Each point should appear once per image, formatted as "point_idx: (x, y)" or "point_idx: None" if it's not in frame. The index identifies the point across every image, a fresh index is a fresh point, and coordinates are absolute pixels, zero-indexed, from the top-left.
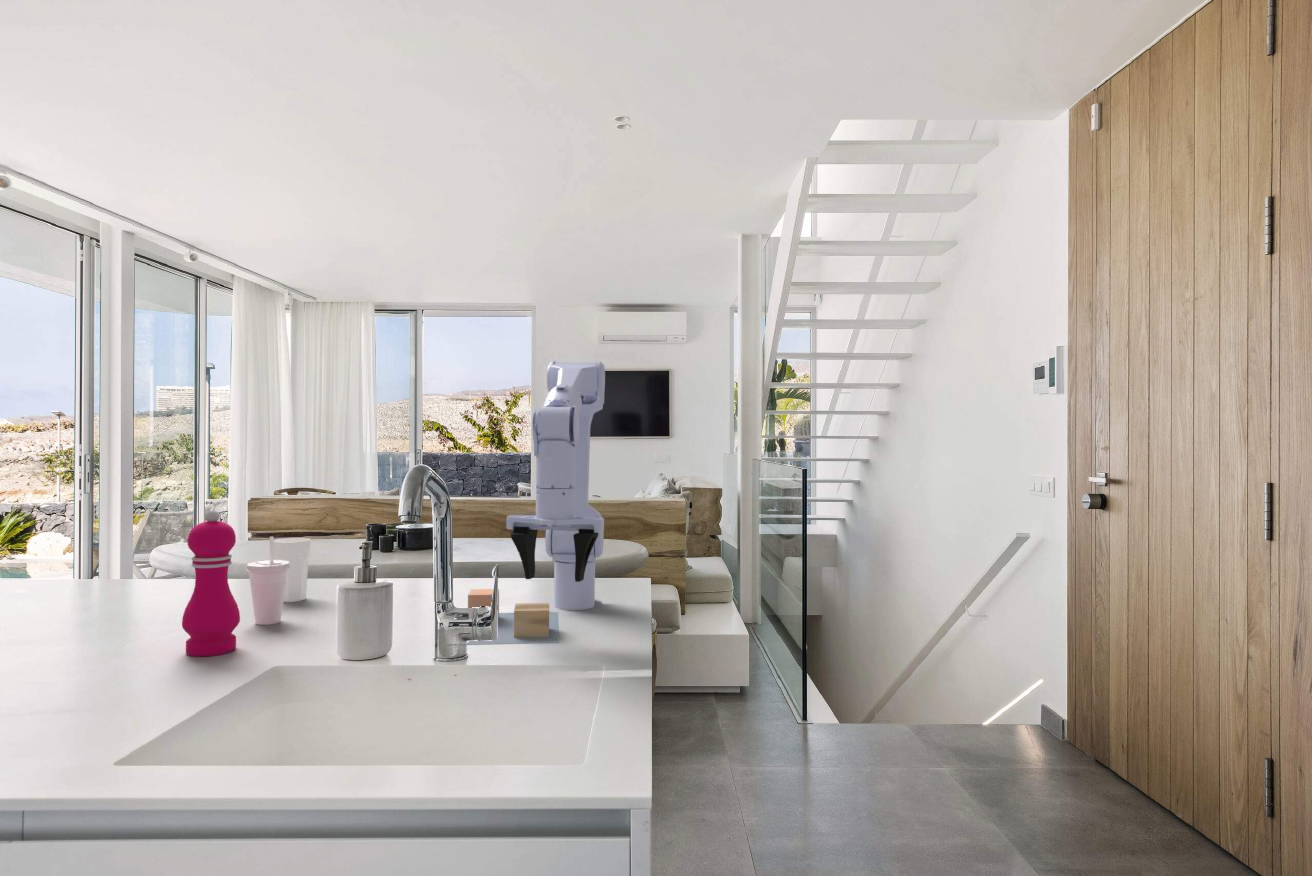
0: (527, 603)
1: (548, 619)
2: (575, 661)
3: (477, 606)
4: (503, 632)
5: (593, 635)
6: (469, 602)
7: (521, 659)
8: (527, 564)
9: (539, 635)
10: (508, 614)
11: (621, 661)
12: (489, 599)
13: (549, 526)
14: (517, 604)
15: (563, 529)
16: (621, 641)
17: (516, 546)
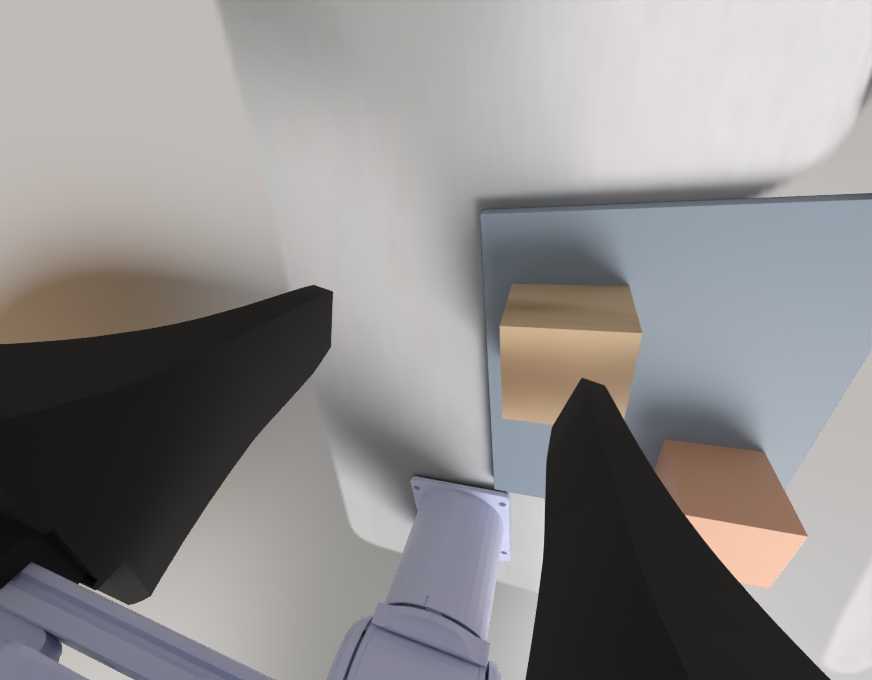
0: None
1: (506, 310)
2: (417, 29)
3: (749, 491)
4: (658, 347)
5: (400, 328)
6: (787, 510)
7: (620, 50)
8: (604, 432)
9: (541, 286)
10: None
11: (278, 39)
12: (709, 505)
13: None
14: None
15: (186, 657)
16: (326, 268)
17: (752, 602)
